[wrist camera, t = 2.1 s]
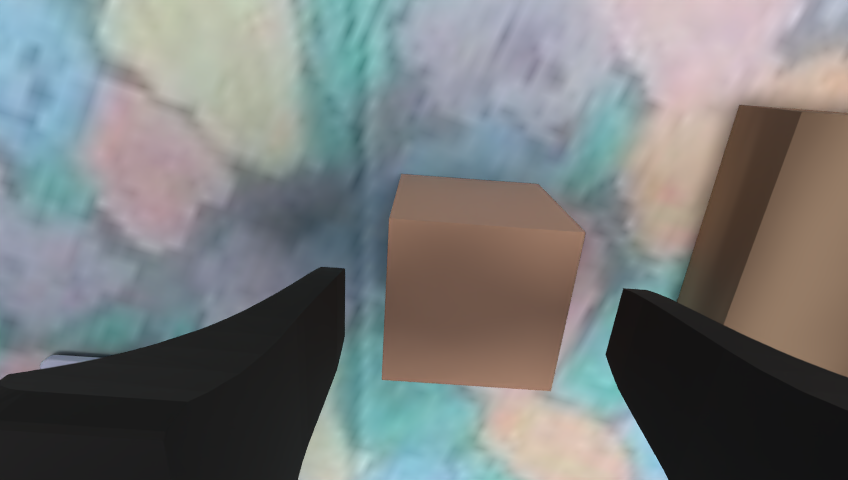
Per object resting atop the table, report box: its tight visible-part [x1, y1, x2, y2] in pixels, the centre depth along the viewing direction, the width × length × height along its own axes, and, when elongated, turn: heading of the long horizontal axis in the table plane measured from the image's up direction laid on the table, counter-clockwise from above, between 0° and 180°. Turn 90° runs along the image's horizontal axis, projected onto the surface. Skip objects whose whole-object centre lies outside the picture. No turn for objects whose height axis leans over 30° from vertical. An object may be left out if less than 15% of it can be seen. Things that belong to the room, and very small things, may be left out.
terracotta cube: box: [382, 174, 585, 391], centre depth 14 cm, size 5×5×5 cm
